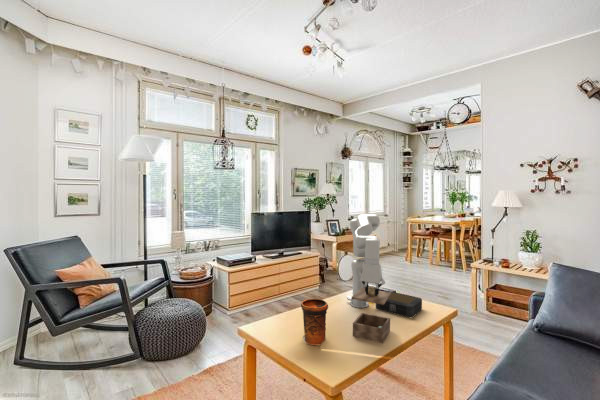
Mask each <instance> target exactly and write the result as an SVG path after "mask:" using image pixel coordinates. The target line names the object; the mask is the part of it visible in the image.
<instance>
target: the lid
mask: <svg viewBox="0 0 600 400" xmlns="http://www.w3.org/2000/svg"><path fill="white" fill-rule="evenodd" d="M375 288H376V286H375V285H374V286H373V285H368V294H366V292H365V288H361V289H360V290H359V291H357V292H356V293H355V294H354V295H353V294H352V295H351V297H352V299H354V300H360V301H365V302H368V303H372V304H375V305H376V304H381V305H384V304H385V302H386V301H387V300H388V298H389V297H390V296H391V292H392V291H391V292H386V291H384V290H379V294H378V295H377V296H375Z"/></svg>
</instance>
